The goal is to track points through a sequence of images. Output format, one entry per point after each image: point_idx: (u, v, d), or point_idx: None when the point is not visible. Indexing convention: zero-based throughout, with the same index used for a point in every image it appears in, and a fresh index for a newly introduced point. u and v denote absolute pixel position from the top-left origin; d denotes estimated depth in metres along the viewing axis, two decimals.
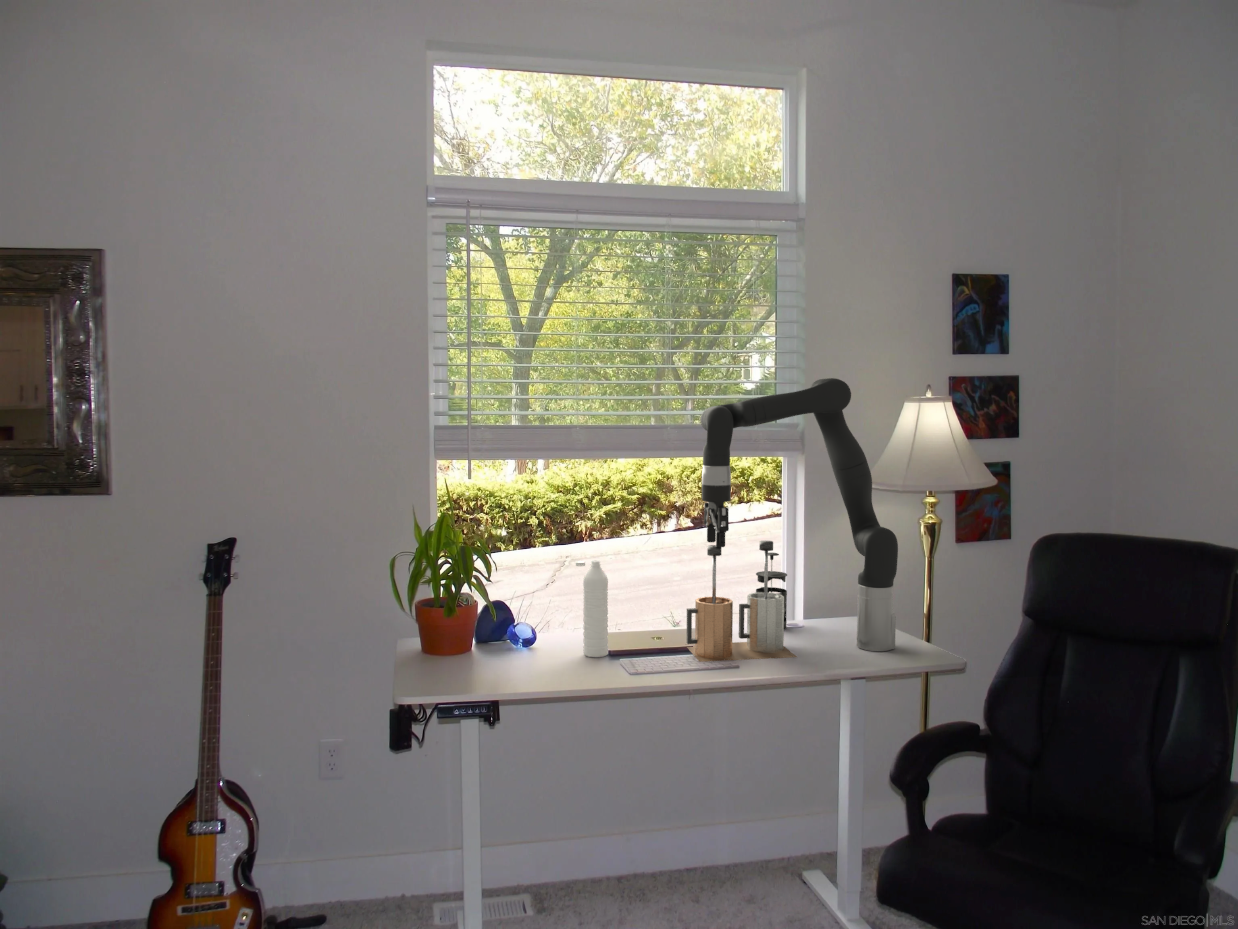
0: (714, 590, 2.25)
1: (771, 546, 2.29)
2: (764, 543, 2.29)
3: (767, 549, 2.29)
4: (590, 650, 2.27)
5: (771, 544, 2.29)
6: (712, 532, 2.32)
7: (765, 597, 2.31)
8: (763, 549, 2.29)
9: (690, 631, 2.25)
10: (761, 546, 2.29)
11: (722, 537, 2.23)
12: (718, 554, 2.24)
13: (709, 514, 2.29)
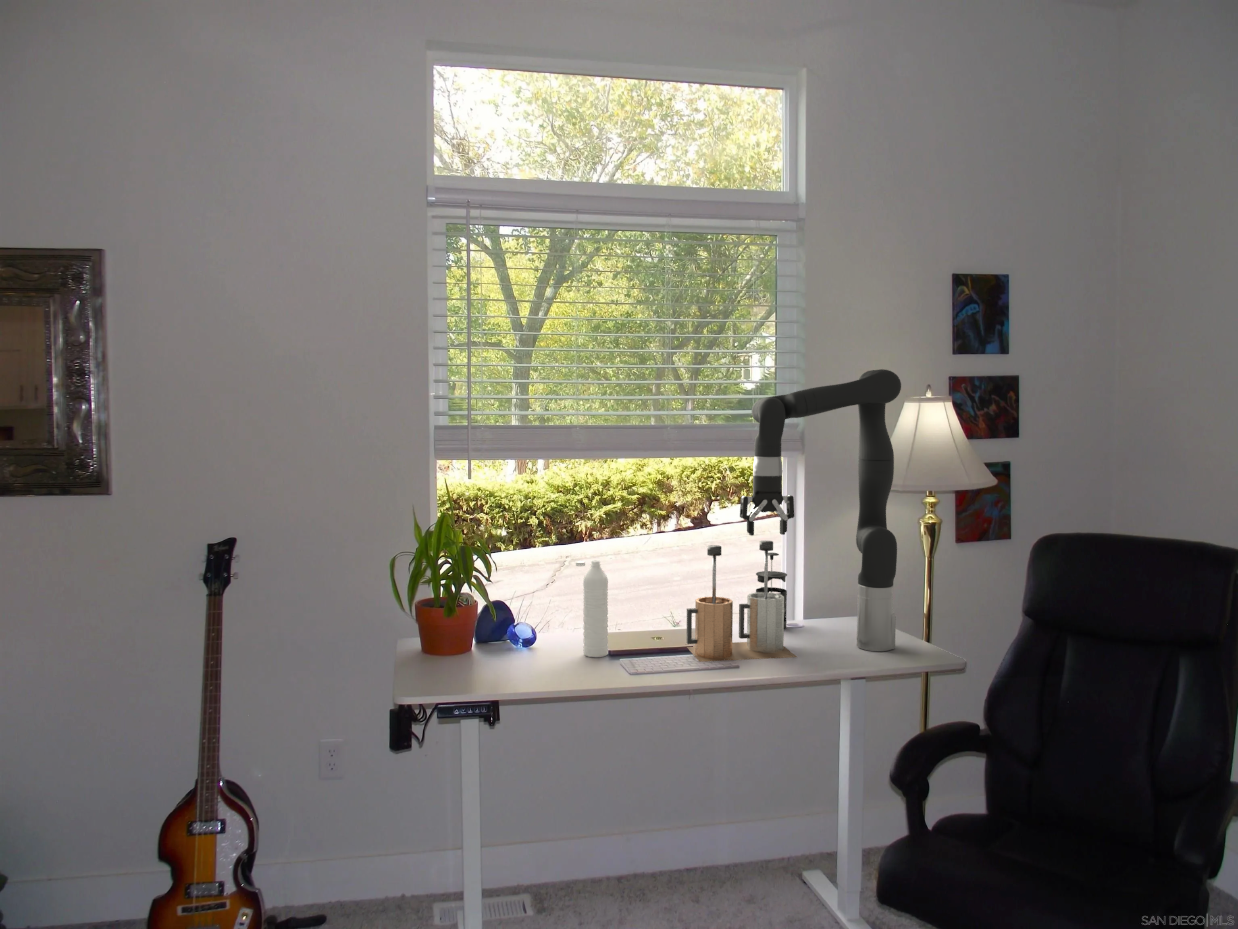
0: (714, 590, 2.25)
1: (771, 546, 2.29)
2: (764, 543, 2.29)
3: (767, 549, 2.29)
4: (590, 650, 2.27)
5: (771, 544, 2.29)
6: None
7: (765, 597, 2.31)
8: (763, 549, 2.29)
9: (690, 631, 2.25)
10: (761, 546, 2.29)
11: None
12: (718, 554, 2.24)
13: (763, 506, 2.28)
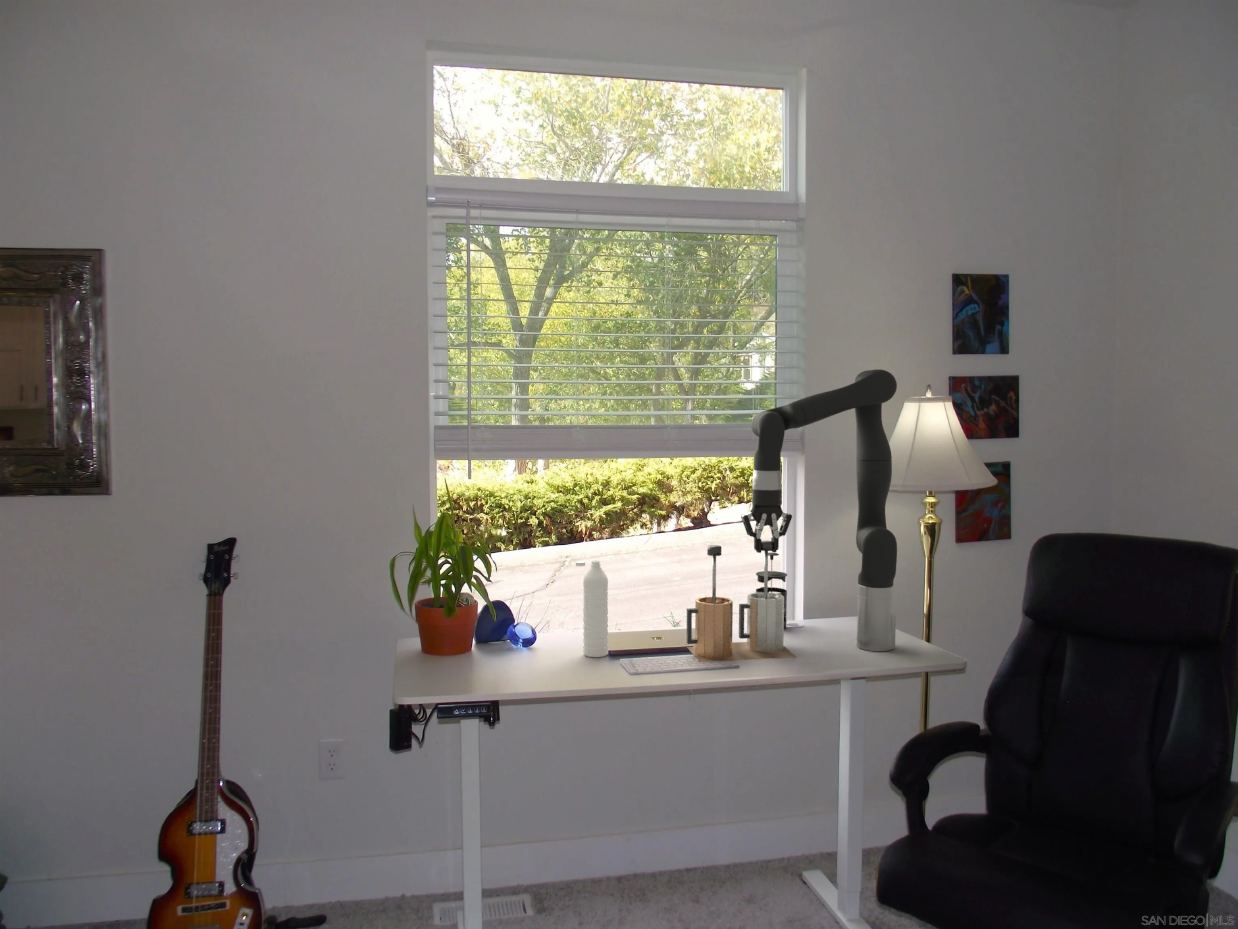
0: (714, 590, 2.25)
1: (771, 546, 2.29)
2: (764, 543, 2.29)
3: (767, 549, 2.29)
4: (590, 650, 2.27)
5: (771, 544, 2.29)
6: None
7: (765, 597, 2.31)
8: (763, 550, 2.29)
9: (690, 631, 2.25)
10: (761, 546, 2.29)
11: None
12: (718, 554, 2.24)
13: (764, 519, 2.28)
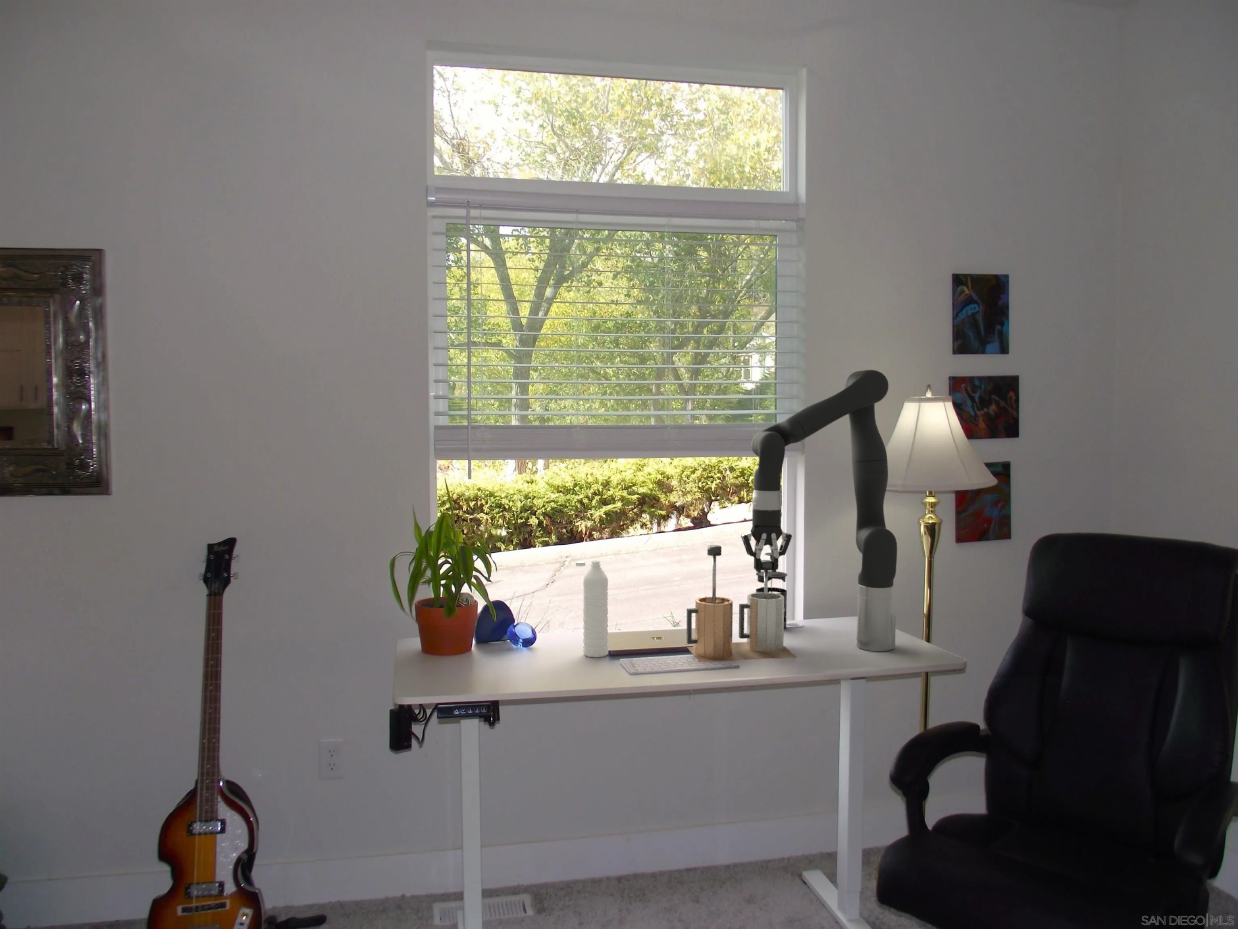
0: (714, 590, 2.25)
1: (771, 566, 2.29)
2: (764, 563, 2.29)
3: (767, 569, 2.29)
4: (590, 650, 2.27)
5: (771, 564, 2.29)
6: None
7: None
8: (763, 569, 2.29)
9: (690, 631, 2.25)
10: (761, 566, 2.30)
11: None
12: (718, 554, 2.24)
13: (764, 539, 2.29)
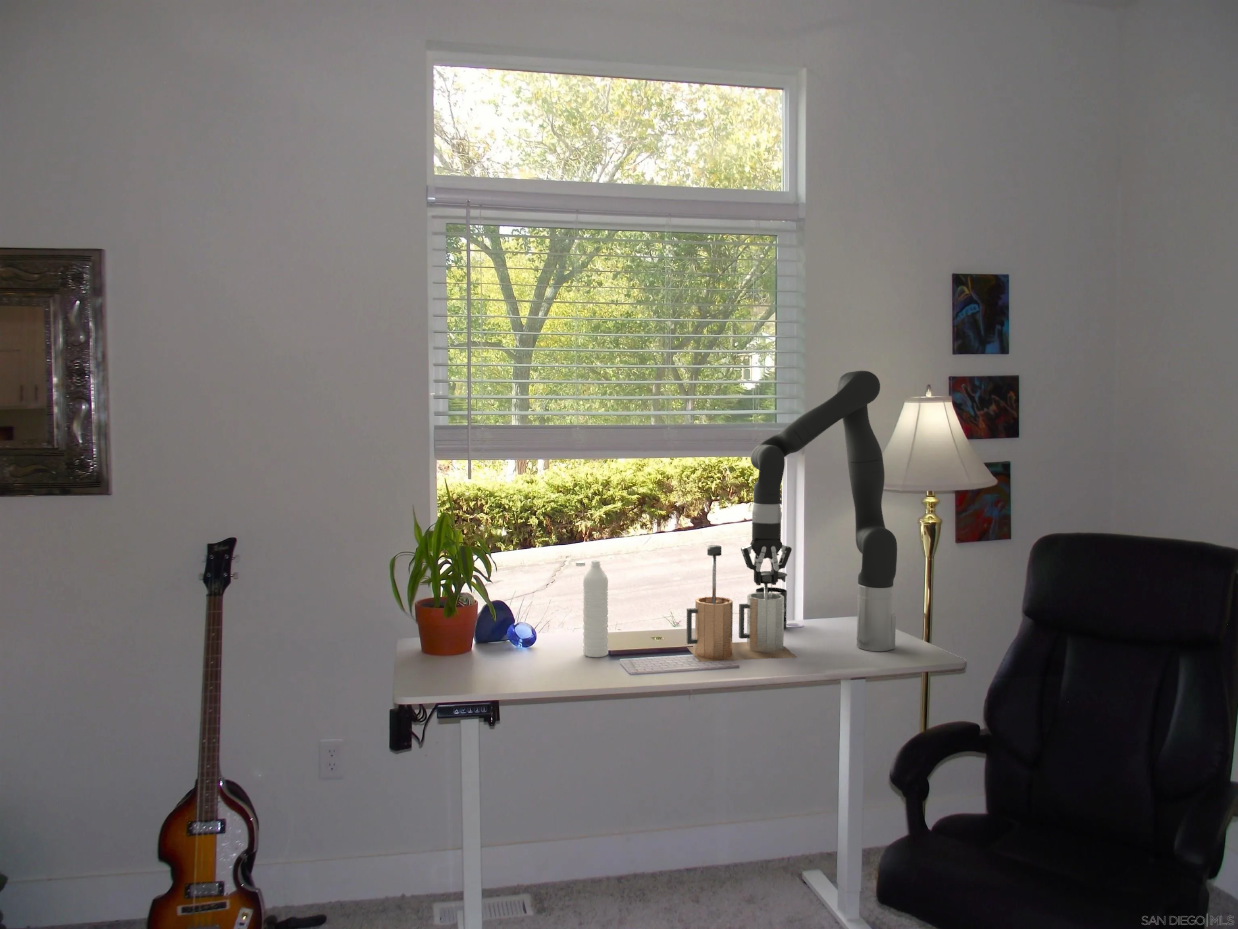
0: (714, 590, 2.25)
1: (771, 579, 2.30)
2: (764, 576, 2.29)
3: (767, 582, 2.29)
4: (590, 650, 2.27)
5: (771, 577, 2.30)
6: None
7: None
8: (763, 582, 2.29)
9: (690, 631, 2.25)
10: (761, 579, 2.30)
11: None
12: (718, 554, 2.24)
13: None
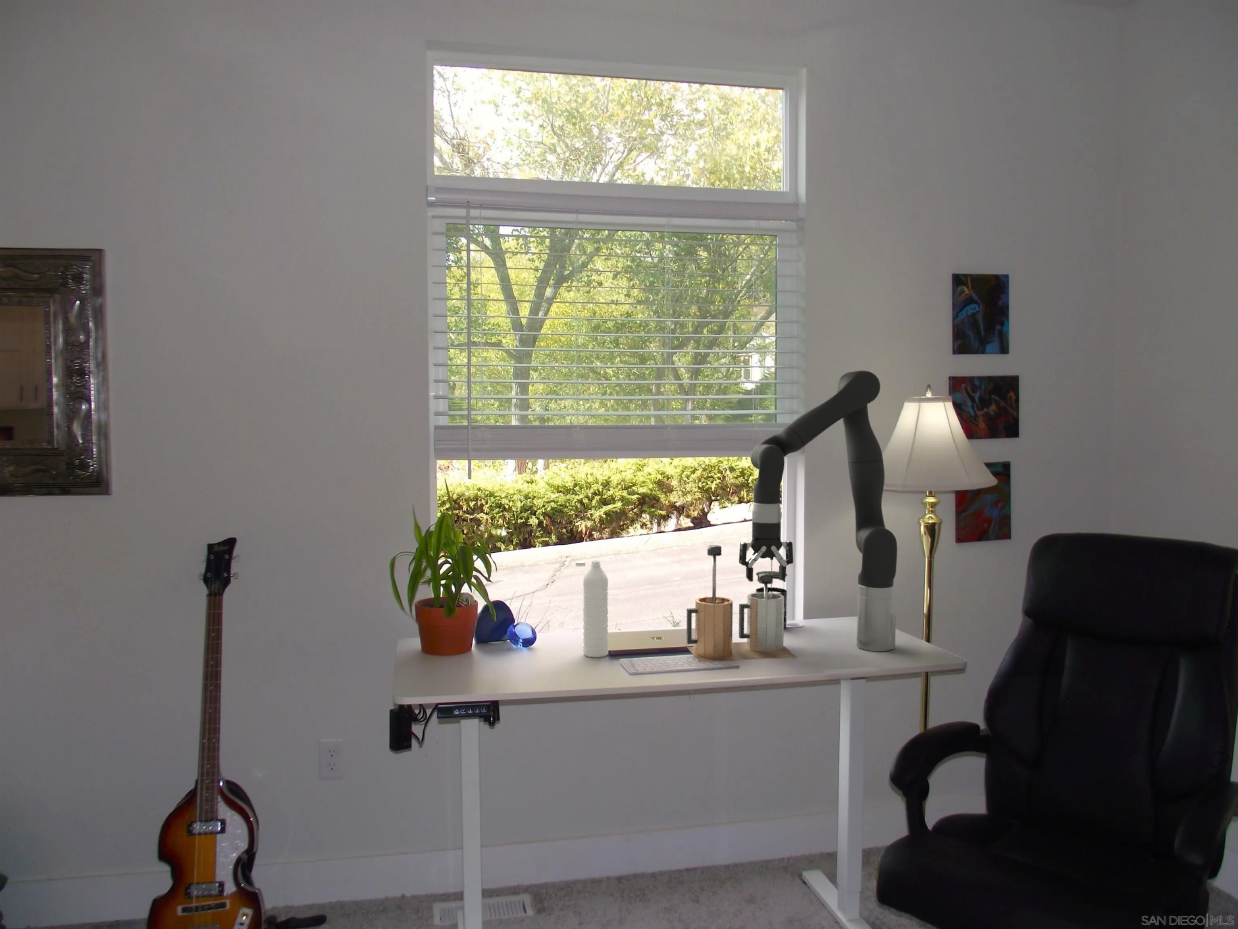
0: (714, 590, 2.25)
1: (771, 579, 2.30)
2: (764, 576, 2.29)
3: (767, 582, 2.29)
4: (590, 650, 2.27)
5: (771, 577, 2.30)
6: None
7: None
8: (763, 583, 2.29)
9: (690, 631, 2.25)
10: (761, 579, 2.30)
11: None
12: (718, 554, 2.24)
13: (762, 552, 2.29)
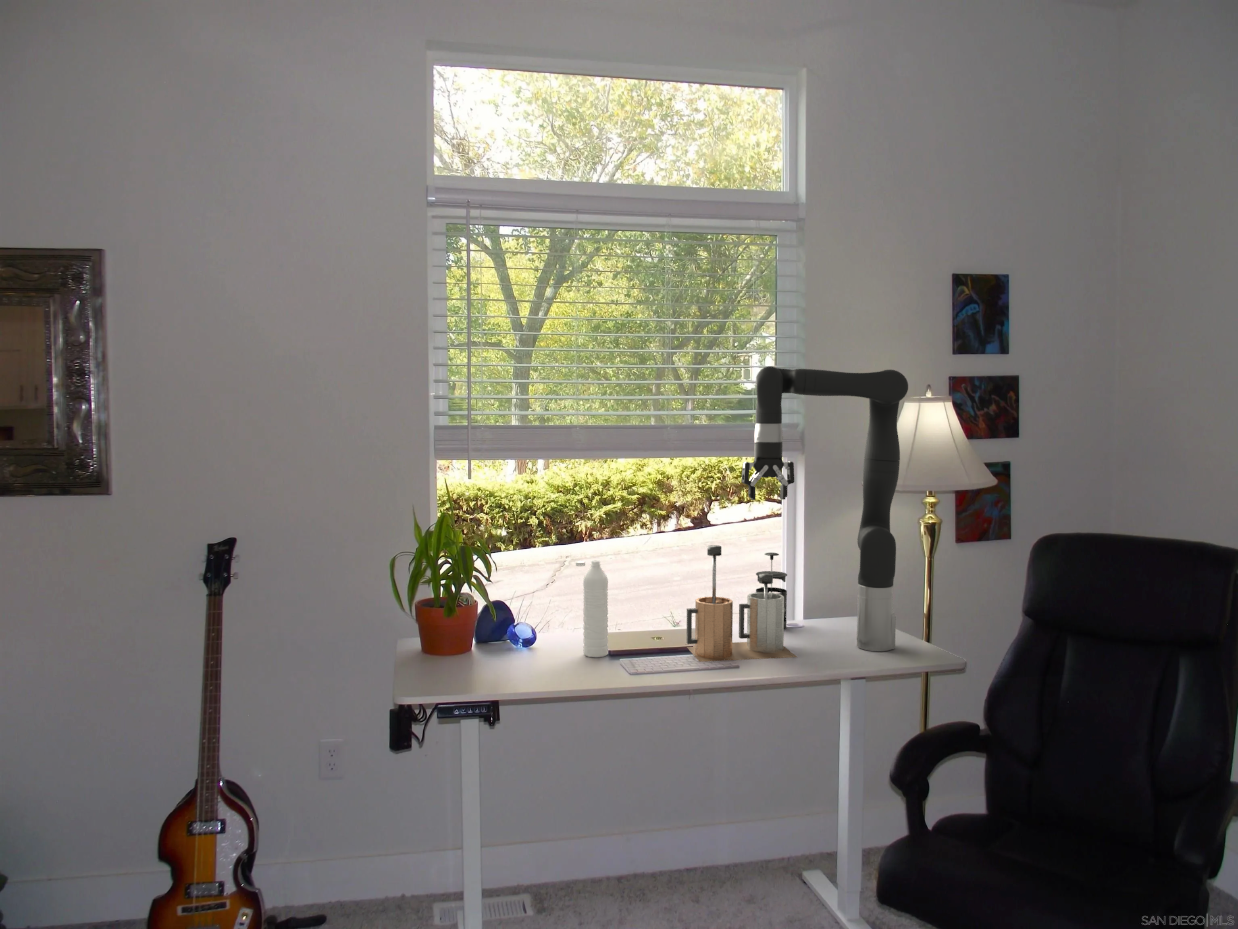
0: (714, 590, 2.25)
1: (771, 579, 2.30)
2: (764, 576, 2.29)
3: (767, 582, 2.29)
4: (590, 650, 2.27)
5: (771, 577, 2.30)
6: None
7: None
8: (763, 583, 2.29)
9: (690, 631, 2.25)
10: (761, 579, 2.30)
11: None
12: (718, 554, 2.24)
13: (764, 471, 2.36)
